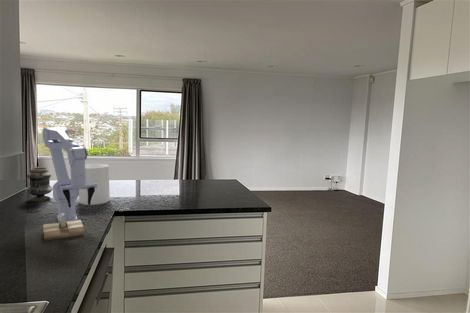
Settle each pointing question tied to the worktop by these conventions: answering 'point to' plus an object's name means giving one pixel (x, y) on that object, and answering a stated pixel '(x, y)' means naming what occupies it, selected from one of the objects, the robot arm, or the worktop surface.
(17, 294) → the worktop surface
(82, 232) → the slotted tan block
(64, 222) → the silver rectangular block
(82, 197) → the canister
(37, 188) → the apothecary jar
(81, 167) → the robot arm
